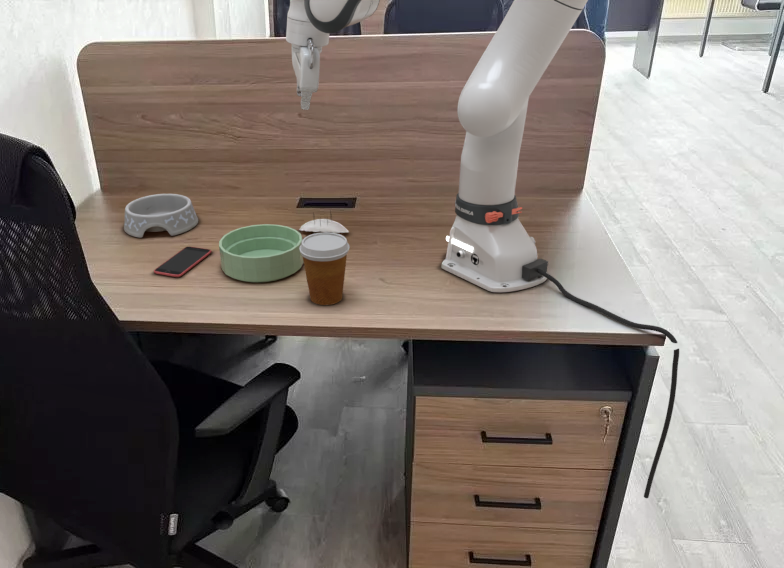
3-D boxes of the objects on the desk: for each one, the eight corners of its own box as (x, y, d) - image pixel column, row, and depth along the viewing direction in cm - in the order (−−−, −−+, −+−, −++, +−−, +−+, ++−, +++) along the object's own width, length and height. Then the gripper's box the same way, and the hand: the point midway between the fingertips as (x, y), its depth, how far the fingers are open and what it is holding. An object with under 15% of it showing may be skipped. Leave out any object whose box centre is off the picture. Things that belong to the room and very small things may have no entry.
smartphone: (151, 271, 156) (186, 245, 166) (152, 273, 156) (187, 248, 166) (179, 275, 153) (213, 249, 164) (179, 278, 153) (213, 251, 164)
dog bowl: (130, 214, 187) (126, 194, 184) (201, 209, 187) (198, 189, 184) (118, 240, 173) (114, 219, 170) (195, 235, 173) (192, 214, 170)
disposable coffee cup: (299, 308, 139) (295, 251, 133) (305, 286, 147) (302, 231, 141) (348, 310, 138) (347, 252, 132) (352, 287, 146) (351, 231, 140)
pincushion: (351, 229, 171) (351, 206, 168) (345, 239, 166) (345, 216, 163) (302, 226, 174) (301, 204, 171) (295, 236, 169) (294, 213, 166)
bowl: (316, 272, 152) (315, 246, 149) (237, 291, 147) (234, 264, 144) (285, 243, 166) (283, 218, 163) (212, 259, 161) (208, 234, 158)
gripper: (329, 46, 140) (322, 117, 148) (317, 23, 156) (312, 89, 164) (297, 44, 139) (292, 116, 147) (288, 22, 156) (284, 88, 164)
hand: (302, 102), depth 156 cm, fingers open, 8 cm apart
